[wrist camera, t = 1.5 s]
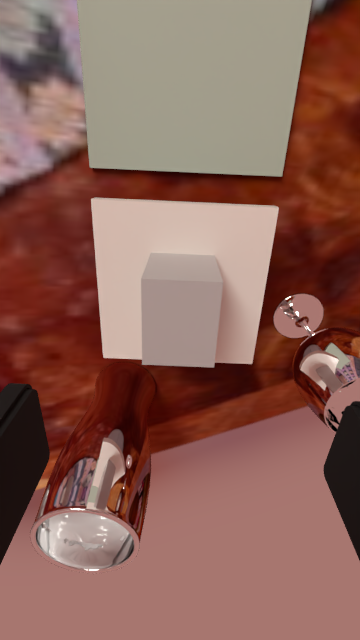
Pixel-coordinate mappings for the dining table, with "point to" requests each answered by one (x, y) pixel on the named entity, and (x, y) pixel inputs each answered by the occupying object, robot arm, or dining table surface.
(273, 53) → the mat
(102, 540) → the beer glass
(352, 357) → the wineglass
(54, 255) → the dining table surface
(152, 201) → the cover
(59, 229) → the dining table surface
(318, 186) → the dining table surface
